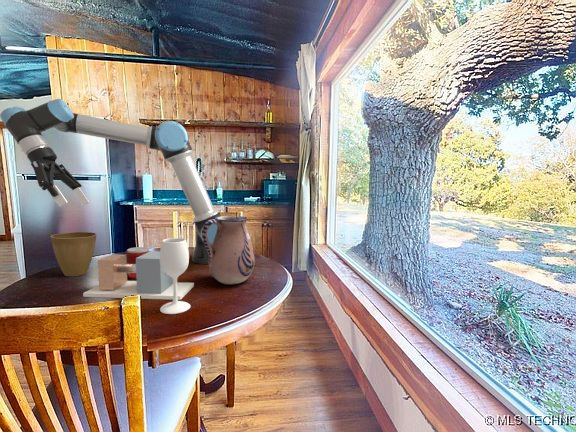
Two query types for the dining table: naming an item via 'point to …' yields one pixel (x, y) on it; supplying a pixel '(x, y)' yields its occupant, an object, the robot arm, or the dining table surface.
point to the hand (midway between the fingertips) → (75, 204)
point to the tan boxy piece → (114, 271)
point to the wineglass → (174, 270)
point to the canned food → (132, 256)
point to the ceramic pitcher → (229, 250)
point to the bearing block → (145, 282)
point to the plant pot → (74, 251)
